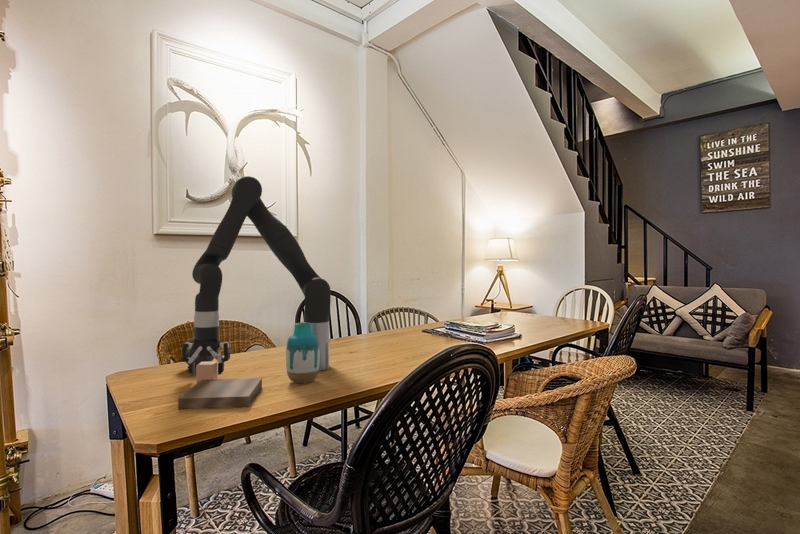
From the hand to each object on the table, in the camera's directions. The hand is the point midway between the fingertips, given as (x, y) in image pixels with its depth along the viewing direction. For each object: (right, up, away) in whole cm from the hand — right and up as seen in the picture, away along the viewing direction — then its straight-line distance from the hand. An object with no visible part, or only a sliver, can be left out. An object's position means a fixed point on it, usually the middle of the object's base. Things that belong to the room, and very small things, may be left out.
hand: (206, 374), depth 141 cm
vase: (+32, -3, 0) cm, 32 cm away
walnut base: (+12, -3, -17) cm, 21 cm away
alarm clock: (-10, -2, +15) cm, 18 cm away
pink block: (0, -2, 0) cm, 2 cm away
